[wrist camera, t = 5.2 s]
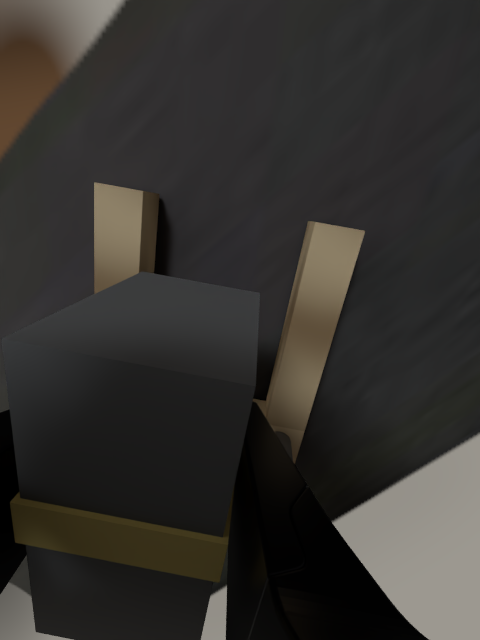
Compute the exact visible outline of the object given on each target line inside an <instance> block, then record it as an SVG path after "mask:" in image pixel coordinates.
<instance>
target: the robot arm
mask: <svg viewBox="0 0 480 640" xmlns="http://www.w3.org/2000/svg"><path fill="white" fill-rule="evenodd" d="M18 492H19V484H18V476H17V467H16V459H15V450H14V442H13V433H12V425H11V416H10V409H9V410H6V411H4V412H1V413H0V594H1V593H2V591H3V589H4V588H5V587H6V585H7V584H8V582H9V581H10V579H11V577H12V576H13V574H14V573H15V571H16V570H17V568H18V567H19V565H20V564H21V562H22V561H23V559H24V558H25V556H26V555H27V552H26V545H25V544H20V543H15V538H14V530H13V523H12V516H11V508H10V502H11V500H12V499H13V498H14V497H15V496H16V495H17V494H18ZM226 640H429V639H427V638H426V637H424V636H423V635H422V634H421V633H420V632H419V631H418V630H417V629H415V628H414V627H413V626H412V625H411V624H410V623H409V622H408V621H407V620H406V619H405V617H404V616H403V615H402V614H401V613H400V612H399V611H398V610H397V609H396V607H395V606H394V605H393V604H392V602H391V601H390V600H389V599H388V597H387V596H386V594H385V593H384V592H383V591H382V589H381V588H380V587H379V585H378V584H377V583H376V581H375V580H374V579H373V577H372V576H371V575H370V573H369V572H368V571H367V570H366V568H365V567H364V566H363V564H362V563H361V562H360V560H359V559H358V557H357V556H356V555H355V553H354V552H353V551H352V549H351V548H350V547H349V546H348V545H347V543H346V542H345V540H344V539H343V537H342V536H341V535H340V533H339V532H338V530H337V529H336V528H335V526H334V525H333V524H332V522H331V521H330V519H329V518H328V516H327V515H326V513H325V512H324V510H323V509H322V507H321V506H320V504H319V503H318V501H317V500H316V498H315V496H314V495H313V493H312V491H311V490H310V488H309V487H308V486H307V484H306V482H305V480H304V479H303V477H302V475H301V474H300V472H299V471H298V469H297V467H296V466H295V464H294V462H293V461H292V459H291V458H290V456H289V454H288V453H287V451H286V449H285V448H284V446H283V444H282V443H281V441H280V440H279V438H278V436H277V435H276V433H275V431H274V430H273V428H272V427H271V425H270V423H269V422H268V420H267V418H266V417H265V415H264V414H263V412H262V410H261V409H260V407H259V405H258V404H257V403H256V402H253V401H252V406H251V410H250V415H249V420H248V424H247V429H246V433H245V438H244V443H243V447H242V452H241V456H240V461H239V466H238V470H237V475H236V479H235V484H234V493H233V503H232V512H231V521H230V531H229V540H228V574H227V615H226Z"/></svg>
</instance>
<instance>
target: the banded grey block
mask: <svg viewBox="0 0 480 640" xmlns="http://www.w3.org/2000/svg"><path fill="white" fill-rule="evenodd" d="M259 303H260V293H257V292H252V291H246V290H241V289H235V288H230V287H224V286H219V285H213V284H208V283H203V282H197V281H192V280H186V279H181V278H175V277H170V276H165V275H159V274H154V273H148V272H143V271H142V272H140V273H138V274H136V275H134V276H132V277H129V278H127V279H125V280H123V281H121V282H119V283H117V284H115V285H113V286H110V287H108V288H106V289H104V290H102V291H100V292H98V293H96V294H94V295H92V296H89V297H87V298H85V299H83V300H81V301H79V302H77V303H75V304H73V305H71V306H68V307H66V308H64V309H62V310H60V311H58V312H56V313H54V314H52V315H50V316H47V317H45V318H43V319H41V320H39V321H37V322H35V323H33V324H31V325H29V326H26V327H24V328H22V329H20V330H18V331H16V332H14V333H12V334H10V335H8V336H5V337H3V338H1V340H2V348H3V357H4V365H5V374H6V382H7V391H8V399H9V408H10V416H11V425H12V433H13V442H14V450H15V459H16V467H17V476H18V484H19V492H18V494H17V495H16V496H15V497H14V498H13V499H12V500H11V502H10V508H11V516H12V523H13V530H14V538H15V543H20V544H25V545H26V552H27V561H28V569H29V578H30V586H31V595H32V603H33V612H34V620H35V629H36V632H39V633H44V634H49V635H54V636H59V637H64V638H69V639H74V640H201V635H202V631H203V626H204V621H205V617H206V612H207V607H208V603H209V599H210V594H211V589H212V585H213V582H218V583H219V582H220V577H221V573H222V569H223V564H224V560H225V556H226V551H227V547H228V540H229V531H230V521H231V512H232V503H233V493H234V484H235V479H236V475H237V470H238V466H239V461H240V456H241V452H242V447H243V443H244V438H245V433H246V429H247V424H248V420H249V415H250V410H251V406H252V401H253V397H254V392H255V388H256V370H257V348H258V325H259Z"/></svg>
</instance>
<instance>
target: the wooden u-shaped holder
mask: <svg viewBox="0 0 480 640" xmlns="http://www.w3.org/2000/svg"><path fill="white" fill-rule="evenodd" d="M158 208H159V194H156V193H150V192H145V191H139V190H134V189H128V188H123V187H117V186H111V185H106V184H100V183H94V258H95V294H96V293H98V292H100V291H102V290H104V289H106V288H108V287H110V286H113V285H115V284H117V283H119V282H121V281H123V280H125V279H127V278H129V277H132V276H134V275H136V274H138V273H140V272H142V271H143V272H148V273H154V267H155V252H156V237H157V222H158ZM364 233H365V231H362V230H357V229H351V228H346V227H340V226H335V225H329V224H323V223H318V222H312V221H308V224H307V229H306V233H305V237H304V241H303V246H302V250H301V254H300V258H299V263H298V267H297V271H296V275H295V280H294V284H293V288H292V292H291V297H290V301H289V305H288V309H287V314H286V318H285V322H284V326H283V331H282V335H281V339H280V343H279V348H278V352H277V356H276V360H275V364H274V369H273V373H272V377H271V381H270V386H269V390H268V394H267V398H266V401H263V400H258V399H253V402H256V403H257V404H258V405H259V407H260V409H261V410H262V412H263V414H264V415H265V417H266V418H267V420H268V422H269V423H270V425H271V427H272V428H273V430H274V431H275V433H276V435H277V436H278V438H279V440H280V441H281V443H282V444H283V446H284V448H285V449H286V451H287V453H288V454H289V456H290V458H291V459H292V461H293V462H294V464H295V461H296V458H297V455H298V451H299V448H300V445H301V441H302V438H303V435H304V432H305V428H306V425H307V422H308V418H309V415H310V412H311V408H312V405H313V402H314V398H315V395H316V392H317V389H318V385H319V382H320V379H321V375H322V372H323V369H324V365H325V362H326V359H327V355H328V352H329V349H330V346H331V342H332V339H333V336H334V332H335V329H336V326H337V322H338V319H339V316H340V312H341V309H342V306H343V303H344V299H345V296H346V293H347V289H348V286H349V283H350V279H351V276H352V273H353V269H354V266H355V263H356V260H357V256H358V253H359V250H360V246H361V243H362V240H363V236H364Z"/></svg>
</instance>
